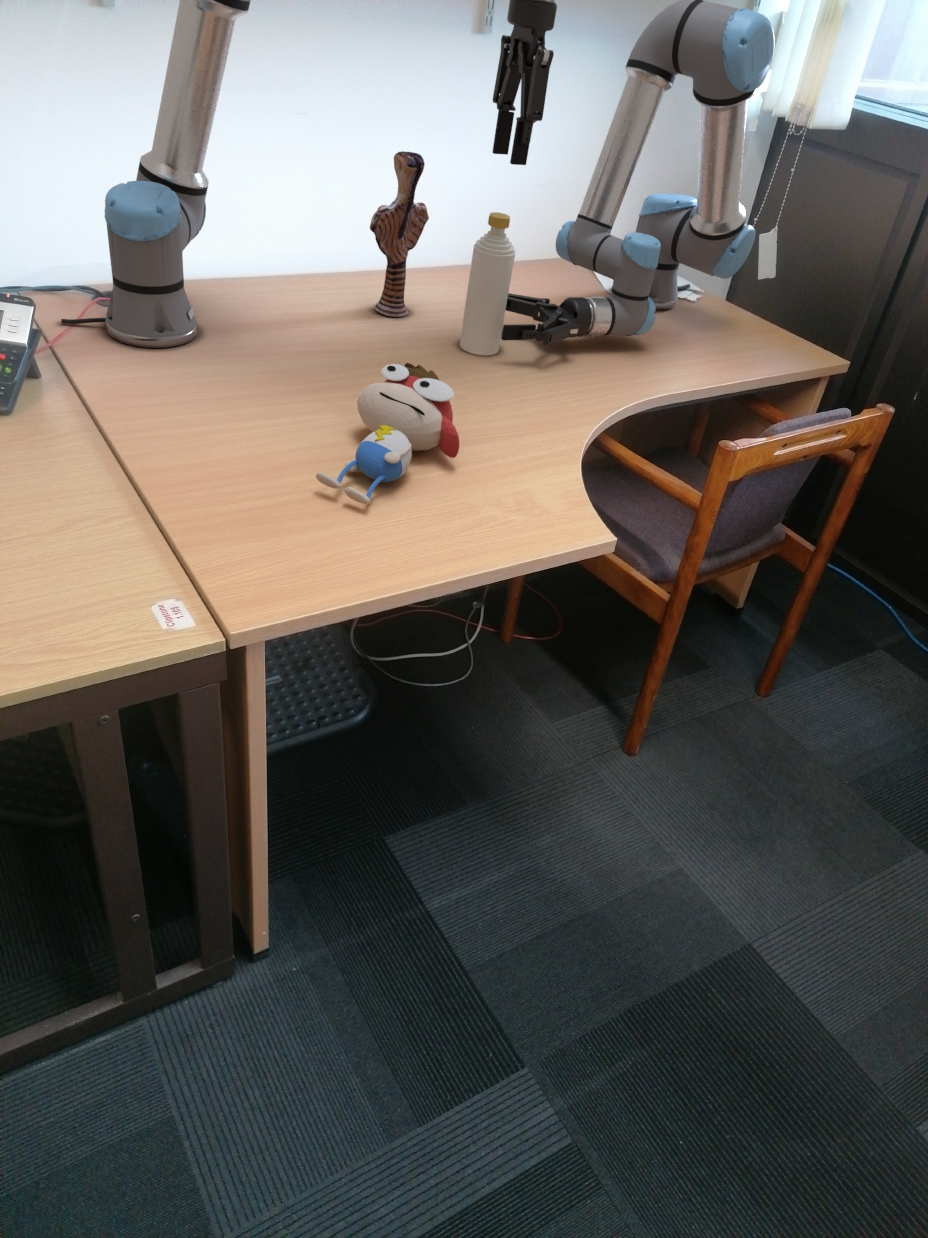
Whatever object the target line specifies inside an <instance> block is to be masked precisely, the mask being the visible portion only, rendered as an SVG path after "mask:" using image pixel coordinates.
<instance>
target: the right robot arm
mask: <svg viewBox="0 0 928 1238" xmlns="http://www.w3.org/2000/svg"><path fill="white" fill-rule="evenodd" d="M774 53H775V32H774V27H773V24H772V23H771V21H770V19H769V18H768V17H767V16H766V15H764V14H762V13H760V12H756V11H753V10H752V9H750V8H746V7H740V8H738V7H734V6H729V5H726V4H721V3H716V2H712V1H706V0H677V1H675V2H673V3H671V4H668V5H667V6H666V7H665V8H663V9H662V10H661V11H660V12H659V13H657V14H656V16H654V18H653V19H652V20H651V21H650V22H649V23H648V24H647V26H646V27H645V28H644V29H643V30H642V32H641V34H640V36H639V37H638V39H637V40H636V42H635V44H634V46H633V48H632V49H631V51H630V54H629V57H628V59H627V62H626V64H625V67H624V72H625V75H626V80H625V83H624V86H623V89H622V91H621V94H620V98H619V100H618V103H617V106H616V109H615V111H614V114H613V117H612V120H611V122H610V124H609V127H608V130H607V133H606V136H605V139H604V142H603V144H602V147H601V150H600V153H599V156H598V159H597V161H596V164H595V167H594V169H593V172H592V176H591V178H590V180H589V184H588V186H587V188H586V192H585V195H584V197H583V199H582V200H583V201H582V203H581V206H580V208H579V211H578V213H577V217H576V219H575V220H568V221H566V222H564V223H563V224H562V226H561V229H559V230H558V233H557V235H556V238H555V251H556V254H557V255H558V256H559V258H561V259H563V260H564V261H567V262H568V263H571V264H572V265H573V266H579V267H581V268H582V269H583V268H584V269H587V270H589V271H590V272H591V271H592V272H594V273H596V274H599V275H601V276H604V277H606V278H607V279H610V280H613V281H612V286H611V292H610V296H586V297H585V296H584V297H583V296H574V297H573V296H571V297H570V296H569V297H566V298H564V300H563V301H562V302H561V303H560V304H559V305H558V304H555V303H551V299H550V298H545V297H544V298H543V297H535V296H527V295H521V294H515V293H510V292H509V293H508V298H507V304H506V310H505V312H510V313H515V314H519V315H522V316H526V317H530V318H532V320H533V321H536V322H538V323H537V325H536V324H534V323H531V324H530V323H526V324H524V323H523V324H503V327H502V333H501V339H500V340H501V341H534V340H535V342H541V344H542V345H544V346H550V345H552V344H555V343H558V342H561V341H563V340H566V339H569V338H570V339H573V338H582V337H589V338H590V339H593V338H594V337H611V336H612V337H632V336H640V335H641V336H642V335H645V334H647V333H649V332H650V331H651V329H653V327H654V325H655V323H656V317H657V316H656V315H655V313H656V311H666V310H671V309H674V308H675V307H676V305H677V301H678V299H679V297H678V295H679V294H678V293H679V292H678V291H680V290H685V289H690V287H691V284H689V283H687V284H684V285H679V286H678V270H679V266H680V264H681V265H684V266H685V267H688V268H691V269H694V270H697V271H699V272H701V273H704V274H706V275H709V276H710V277H716V278H720V279H723V280H727V279H730V278H732V277H733V276H735V274H736V273H737V272H739V270H740V269H741V268H742V267H743V265H744V264H745V262H746V260H747V258H748V256H749V254H750V253H751V250H752V248H753V245H754V243H755V239H756V229H755V228H754V227H753V226H752V225H751V224H746V217H747V213H746V209H745V207H744V205H743V204H742V203H741V202H740V198H741V186H742V177H743V175H742V174H743V163H744V162H743V161H744V151H745V150H744V149H745V137H746V124H747V114H748V113H747V112H748V101H749V99H751V98H752V97H753V96H754V95H755V93H756V91H757V90H758V89H759V88H760V87H761V85H762V84H763V83H764V82H765V79H766V78H767V76H768V74H769V71H770V70H771V69H770V68H771V67H770V65H771V63H772V62H773V58H774ZM678 75H682V76H685V77H688V78H691V79H692V96H693V98H694V100H695V101H696V102H697V103H698V104H700V108H699V109H700V111H699V137H698V138H699V140H698V141H699V142H698V166H697V167H698V168H697V169H698V172H697V195H696V196H697V197H696V198H695V197H694V196H690V195H685V194H678V193H651V194H649V195H647V197H645V199H644V200H643V203H642V206H641V209H640V212H639V214H638V220H637V224H636V230H635V232H633V231H632V232H628V233H626V234H625V235H624V237H623V238H621V237H617V236H615V235H612V234H611V233H612V230H613V227H614V224H615V222H616V219H617V216H618V214H619V211H620V209H621V205H622V203H623V201H624V198H625V195H626V193H627V190H628V188H629V185H630V182H631V180H632V178H633V175H634V173H635V170H636V167H637V164H638V162H639V159H640V156H641V154H642V151H643V149H644V146H645V143H646V142H647V141H646V140H647V138H648V135H649V133H650V131H651V128H652V125H653V122H654V120H655V117H656V115H657V112H658V110H659V107H660V105H661V102H662V99H663V97H664V94H665V93H666V92H667V91H669V90H671V89H672V88H673V86H674V83H675V81H676V79H677V76H678Z"/></svg>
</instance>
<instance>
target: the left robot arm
mask: <svg viewBox="0 0 928 1238" xmlns="http://www.w3.org/2000/svg"><path fill="white" fill-rule="evenodd" d="M251 1H252V0H179V2H178V7H177V13H176V18H175V23H174V29H173V35H172V38H171V45H170V51H169V55H168V60H167V61H168V62H167V67H166V70H165V71H166V72H165V76H164V82H163V88H162V92H161V93H162V94H161V99H160V104H159V109H158V115H157V120H156V125H155V130H154V135H153V141H152V145H151V146H152V148H151V150H150V151H148V152H146V153H145V154H142V155H141V156H140V157H139V162H138V167H137V173H136V179H135V180H131V181H126V183H124V182H121V183H118V184H116V185H114V186H112V187H111V188H109V190H107V193H106V195H105V199H104V220H105V222H106V233H107V241H108V250H109V259H110V268H111V277H112V291H111V295H110V300H109V303H108V307H107V311H106V315H105V317H89V318H76V319H75V318H73V319H72V318H71V319H67V318H61V320H60V322H61V324H66V325H67V324H68V325H78V324H91V323H93V324H94V323H95V324H96V323H105V326H106V328H105V329H106V332H107V334H108V335H109V336H110V337H111V338H112V339H114V340H116V341H117V342H120V343H123V344H126V345H130V346H133V347H140V348H152V349H157V348H160V349H163V348H171V347H177V346H182V345H184V344H187V343H189V342H191V341H193V340H194V339H195V338H196V337H197V335H198V324H197V322H198V321H197V318H196V317H195V314H196V311H195V309H194V306H193V305H192V306H191V304H190V300H189V298H188V296H187V293H186V290H185V278H184V276H185V275H184V260H183V259H184V258H183V252H184V250H185V249H186V248H187V246H188V245H189V244H190V243H191V242H192V240H194V239H195V238H196V237H197V236H198V235H199V233H200V231H201V230H202V228H203V226H204V225H205V222H206V221H205V220H206V217H207V216H206V215H207V204H206V199H207V198H206V197H207V193H208V188H209V183H210V182H209V179H208V177H207V176H206V173H205V172H204V169H203V168H204V164H205V160H206V156H207V150H208V146H209V142H210V137H211V133H212V128H213V124H214V119H215V114H216V111H217V105H218V101H219V97H220V93H221V88H222V83H223V80H224V74H225V71H226V70H225V69H226V65H227V61H228V57H229V53H230V47H231V43H232V40H233V39H232V38H233V34H234V30H235V25H236V21H237V20H238V19H239V18H240V17H242V16H244V15H246V14H248V13H249V9H250V5H251ZM555 1H556V0H509V3H508V9H507V17H506V21H507V23H509V24H510V25H512V26H513V28H512V31H511V34H510V35H505V34H502V36H501V38H500V53H499V59H498V65H497V72H496V77H495V82H494V88H493V95H492V102H493V103H494V104H496V109H497V110H498V111H497V117H496V118H497V119H496V125H495V132H494V138H493V139H494V140H493V146H492V154H494V155H509V149H510V144H511V142H510V141H511V137H512V131H513V123H514V117H515V111H516V110H517V108H516V107H515V105H514V104H515V101H516V97H517V94H518V90H519V88H520V114H519V115H520V116H518V117H516V124H515V129H514V134H513V135H514V136H513V141H512V148H511V154H510V160H509V161H510V162H509V164H510V165H515V166H516V165H517V166H527V162H528V161H527V160H528V155H529V150H530V144H531V140H532V139H531V138H532V133H533V129H534V128H533V127H534V124H536V122H542V120H543V118H544V111H545V104H546V98H547V97H546V96H547V90H548V82H549V76H550V68H551V65H552V62H553V58H554V50H552V49H547V47H546V33H547V32H550V31H552V30H553V29H554V27H555V22H556V14H557V10H558V5H557V3H556V2H555Z"/></svg>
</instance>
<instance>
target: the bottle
mask: <svg viewBox="0 0 928 1238" xmlns="http://www.w3.org/2000/svg"><path fill="white" fill-rule="evenodd" d="M505 232H506V229H500V228H495V227H492V226H490V230H488V231H487V233H485V234H483V235H482V236H481V237H480V238H479V239H477V240H476V241H475V243H474V245H473V249H472V255H471V262H470V270H469V276H468V283H467V291H466V296H465V305H464V311H463V317H462V325H461V331H460V338H459V339H460V340H459V347H460V348H461V349H462V351H464V352H467V353H469V354H472V355H476V356H485V357H486V356H493V355H496V354H498V352H499V351H500V345H501V340H502V339H501V337H502V332H503V326H504V322H505V317H506V304H507V298H508V293H510V286H511V280H512V276H513V269H514V268H513V267H514V263H515V259H516V258H515V257H516V251H515V246H514V245H513V243H512V241H510V238H509V237H508V236H507V233H505Z"/></svg>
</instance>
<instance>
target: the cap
mask: <svg viewBox="0 0 928 1238" xmlns="http://www.w3.org/2000/svg"><path fill="white" fill-rule="evenodd" d="M510 222H511V216H510V215H509V214H506V213H503V212H498V211H497V212H494V211H493V212H490V213H489V215H488V220H487V225H489V226H490V227H491V226H492V227H495V228H500V229H505V230H506V229H508V228H510Z"/></svg>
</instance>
